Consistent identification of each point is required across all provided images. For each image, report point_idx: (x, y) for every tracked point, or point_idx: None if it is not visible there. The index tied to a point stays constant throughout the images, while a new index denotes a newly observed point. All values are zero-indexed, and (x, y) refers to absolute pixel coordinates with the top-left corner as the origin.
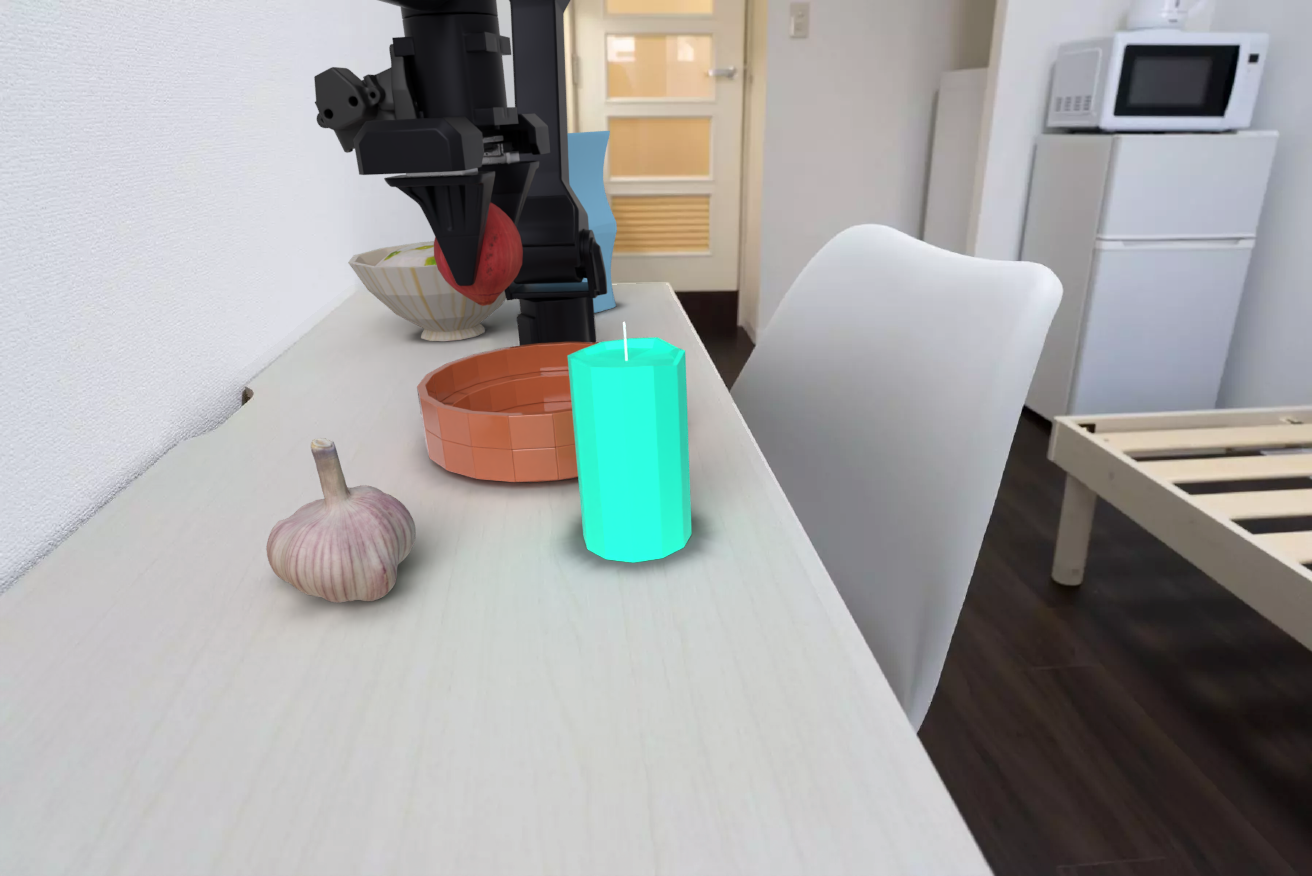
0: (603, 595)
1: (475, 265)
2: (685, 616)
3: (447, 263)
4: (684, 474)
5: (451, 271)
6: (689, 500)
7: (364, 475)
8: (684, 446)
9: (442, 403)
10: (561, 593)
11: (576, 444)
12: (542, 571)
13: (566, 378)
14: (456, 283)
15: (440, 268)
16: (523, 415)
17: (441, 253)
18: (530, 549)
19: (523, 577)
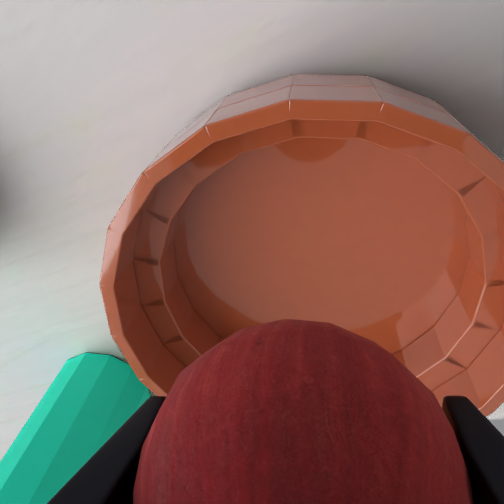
0: (17, 380)
1: None
2: (23, 421)
3: (104, 444)
4: None
5: (123, 426)
6: None
7: (122, 29)
8: None
9: (126, 228)
10: (4, 356)
11: (25, 437)
12: (22, 337)
13: (482, 275)
14: (148, 398)
15: (183, 374)
16: (122, 351)
17: (150, 435)
18: (47, 320)
19: (7, 328)
